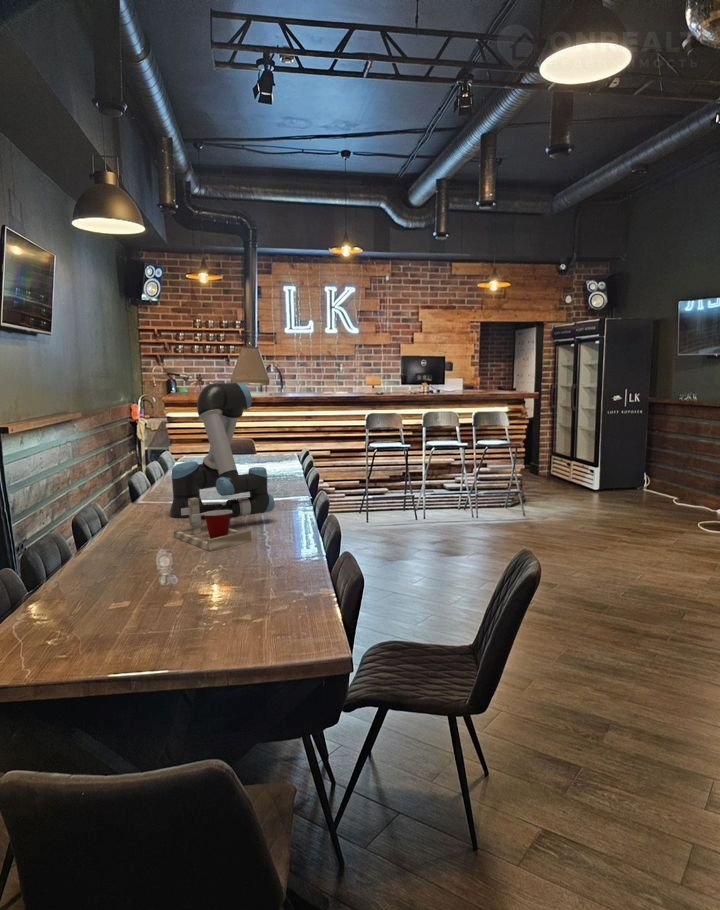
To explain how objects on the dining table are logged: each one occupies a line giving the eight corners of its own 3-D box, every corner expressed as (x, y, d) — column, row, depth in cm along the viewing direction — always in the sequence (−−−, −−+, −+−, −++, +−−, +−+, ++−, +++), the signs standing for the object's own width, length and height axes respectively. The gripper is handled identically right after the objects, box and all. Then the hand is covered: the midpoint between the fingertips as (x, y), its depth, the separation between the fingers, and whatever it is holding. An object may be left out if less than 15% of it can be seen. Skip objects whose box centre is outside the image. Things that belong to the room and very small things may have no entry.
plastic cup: (231, 537, 225) (229, 506, 224) (236, 544, 215) (234, 512, 214) (202, 540, 221) (200, 509, 220) (206, 548, 211) (204, 515, 210)
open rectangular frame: (173, 536, 227) (171, 501, 225) (213, 528, 238) (211, 494, 236) (210, 551, 206) (207, 512, 204) (251, 541, 218) (249, 504, 216)
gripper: (250, 522, 230) (197, 531, 219) (227, 511, 251) (177, 518, 239) (249, 503, 229) (196, 511, 218) (226, 494, 250) (176, 500, 238)
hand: (186, 515), depth 229 cm, fingers open, 13 cm apart
